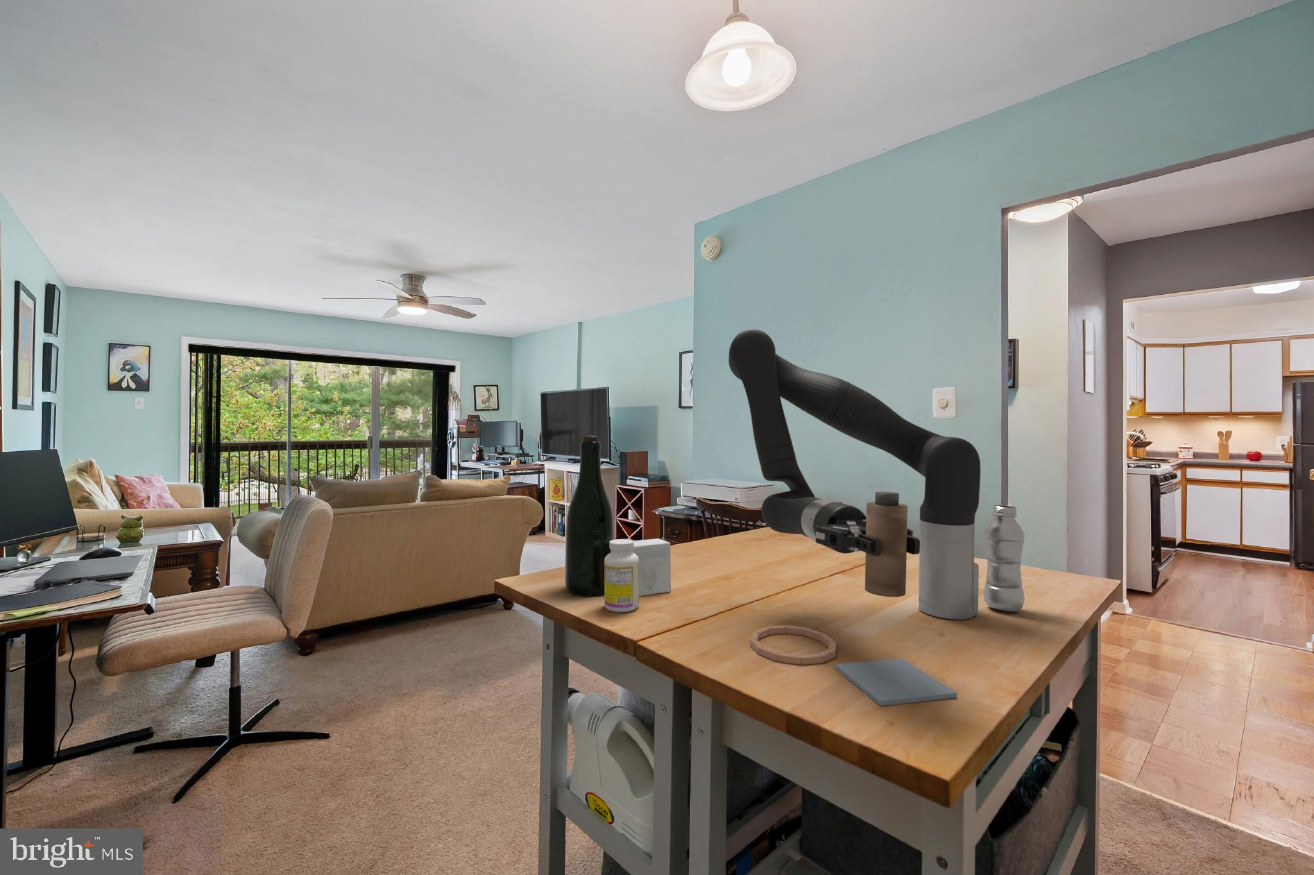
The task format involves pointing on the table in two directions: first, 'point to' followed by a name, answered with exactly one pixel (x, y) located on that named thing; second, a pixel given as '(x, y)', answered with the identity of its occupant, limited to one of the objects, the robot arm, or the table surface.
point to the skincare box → (653, 566)
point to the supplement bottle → (621, 577)
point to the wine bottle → (588, 525)
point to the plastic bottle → (1004, 560)
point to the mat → (894, 681)
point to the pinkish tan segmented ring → (793, 658)
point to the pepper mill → (887, 545)
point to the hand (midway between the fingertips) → (897, 547)
